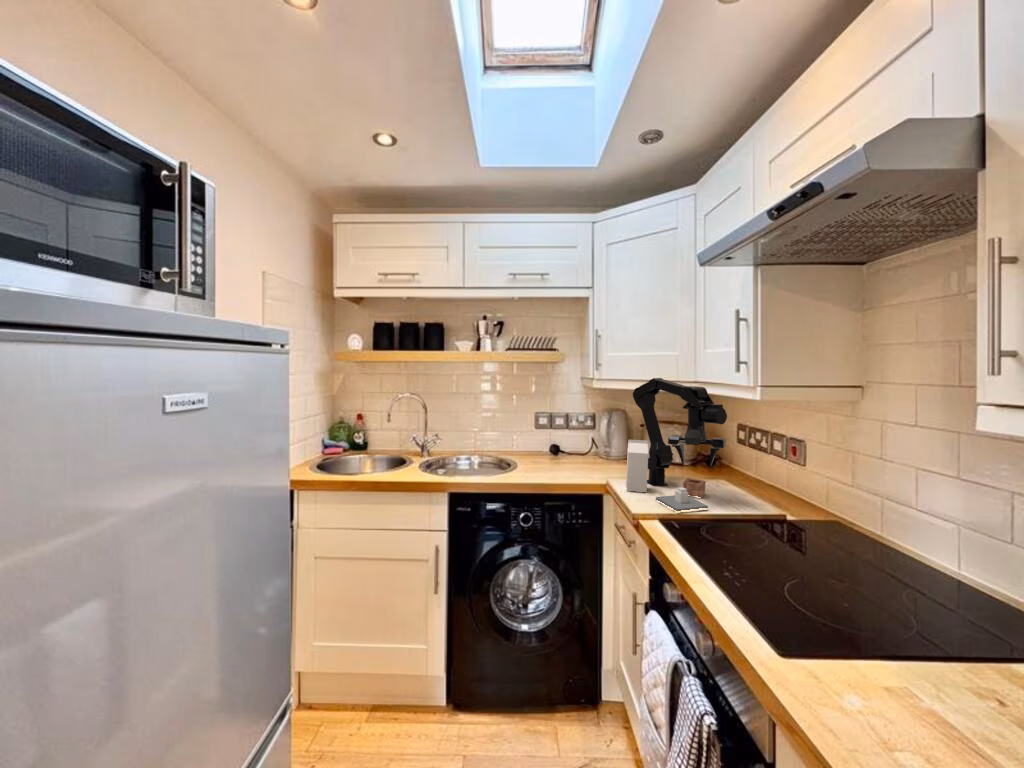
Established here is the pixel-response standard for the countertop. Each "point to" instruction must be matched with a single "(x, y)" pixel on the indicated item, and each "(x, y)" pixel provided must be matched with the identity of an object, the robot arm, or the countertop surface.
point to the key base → (680, 505)
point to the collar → (694, 487)
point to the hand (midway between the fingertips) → (696, 465)
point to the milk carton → (637, 465)
